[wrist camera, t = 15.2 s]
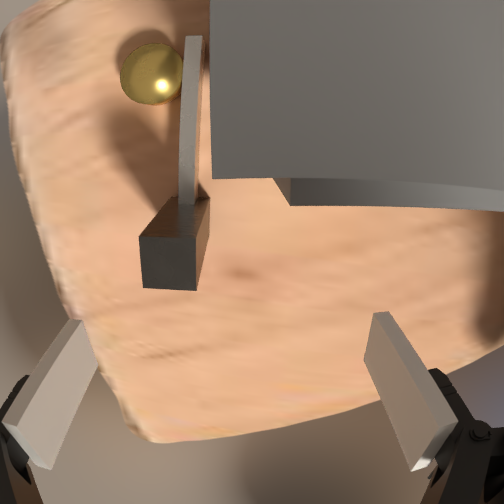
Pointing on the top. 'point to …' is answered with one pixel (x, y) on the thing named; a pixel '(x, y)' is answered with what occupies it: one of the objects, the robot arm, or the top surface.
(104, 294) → the top surface
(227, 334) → the top surface
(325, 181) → the cabinet
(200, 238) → the grey l-shaped bracket
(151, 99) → the gold bowl
